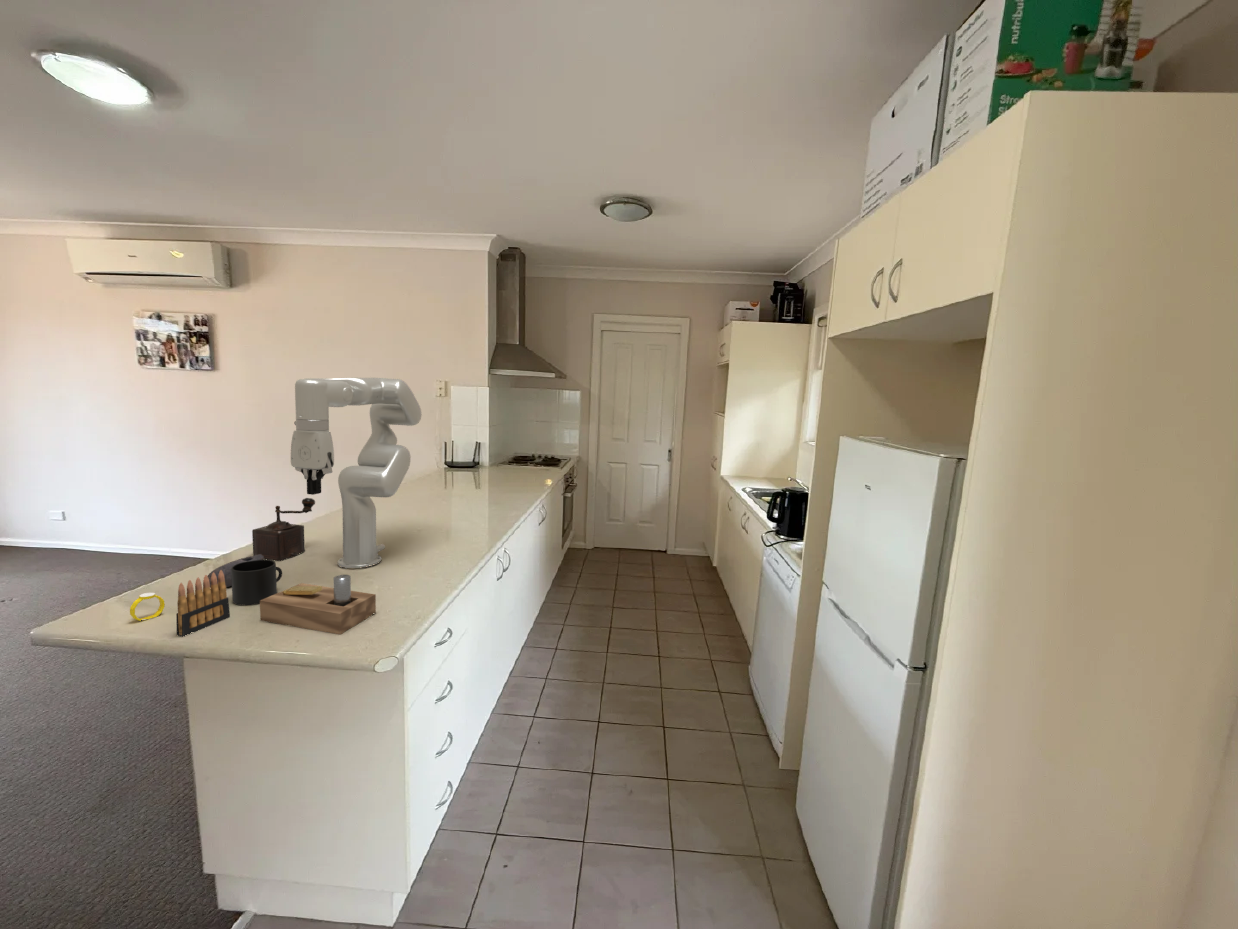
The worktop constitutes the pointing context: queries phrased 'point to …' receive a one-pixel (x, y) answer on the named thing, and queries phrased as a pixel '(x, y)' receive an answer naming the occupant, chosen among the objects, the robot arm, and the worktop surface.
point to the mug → (254, 581)
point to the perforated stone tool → (228, 566)
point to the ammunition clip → (202, 604)
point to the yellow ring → (143, 597)
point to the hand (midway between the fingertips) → (314, 493)
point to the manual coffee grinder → (281, 536)
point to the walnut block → (317, 610)
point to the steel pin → (342, 590)
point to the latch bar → (302, 590)
